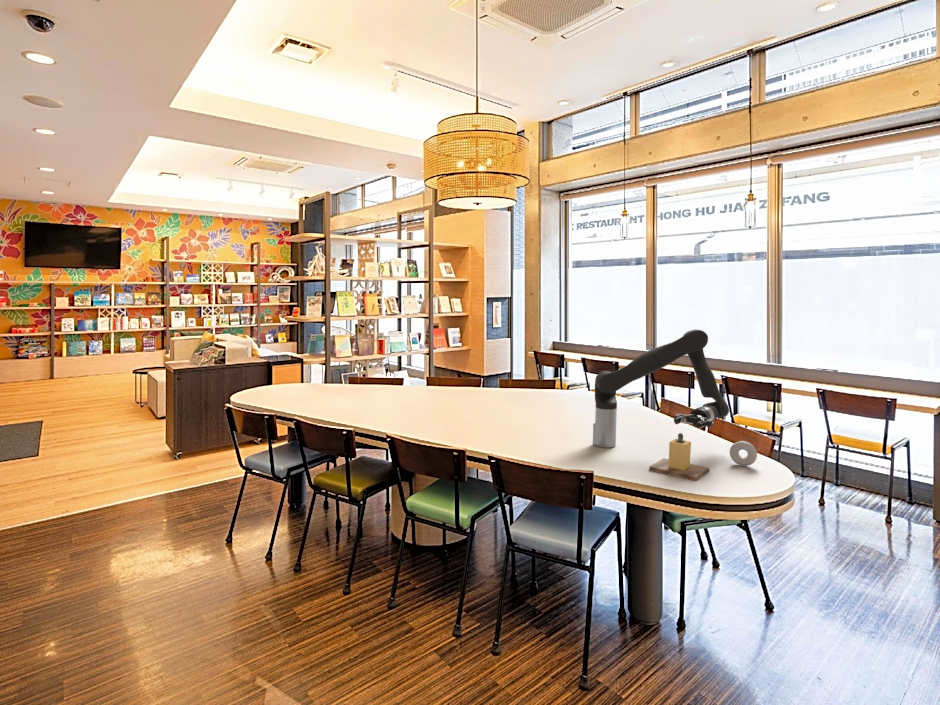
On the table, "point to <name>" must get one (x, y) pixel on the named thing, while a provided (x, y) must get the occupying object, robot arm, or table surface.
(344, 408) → the table surface
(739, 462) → the donut
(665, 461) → the spindle stand
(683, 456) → the bead
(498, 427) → the table surface
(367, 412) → the table surface
